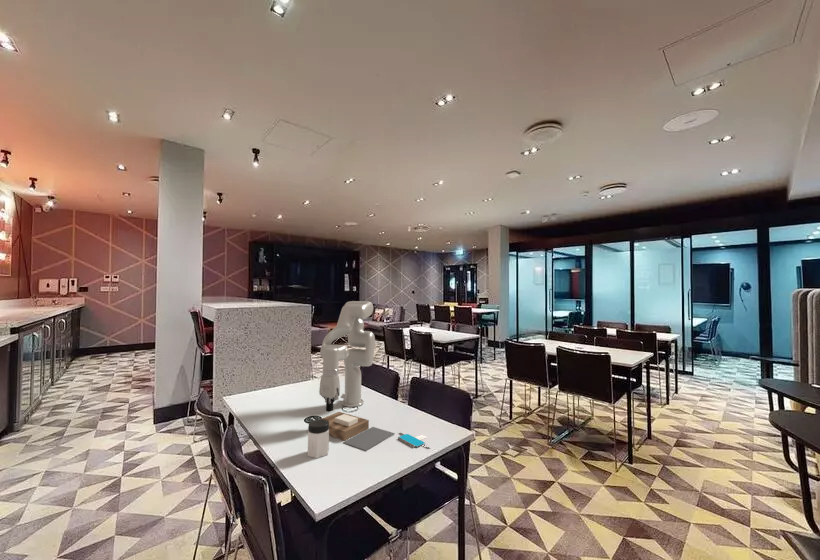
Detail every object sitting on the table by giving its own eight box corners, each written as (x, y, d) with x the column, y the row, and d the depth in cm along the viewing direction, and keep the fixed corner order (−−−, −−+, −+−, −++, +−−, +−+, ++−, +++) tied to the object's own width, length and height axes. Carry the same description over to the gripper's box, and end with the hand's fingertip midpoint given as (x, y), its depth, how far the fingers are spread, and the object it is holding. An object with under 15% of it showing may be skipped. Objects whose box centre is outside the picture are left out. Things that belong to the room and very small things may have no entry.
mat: (343, 443, 144) (343, 442, 144) (372, 427, 161) (372, 426, 161) (366, 451, 137) (366, 450, 137) (394, 434, 153) (394, 433, 153)
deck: (314, 430, 157) (314, 421, 157) (338, 419, 170) (338, 411, 171) (344, 440, 146) (344, 431, 146) (368, 428, 159) (368, 420, 160)
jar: (302, 455, 133) (303, 425, 133) (315, 446, 140) (316, 417, 141) (321, 459, 130) (321, 428, 130) (333, 450, 137) (333, 421, 138)
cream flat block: (334, 422, 157) (334, 417, 157) (343, 418, 162) (344, 414, 162) (348, 426, 152) (348, 422, 152) (357, 422, 157) (357, 418, 157)
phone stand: (440, 445, 144) (440, 441, 144) (420, 454, 136) (420, 449, 136) (410, 430, 159) (410, 427, 159) (390, 437, 151) (390, 433, 151)
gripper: (314, 372, 164) (313, 410, 163) (335, 376, 156) (334, 416, 155) (325, 369, 171) (324, 406, 170) (347, 373, 162) (346, 411, 161)
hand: (329, 410), depth 162 cm, fingers closed
